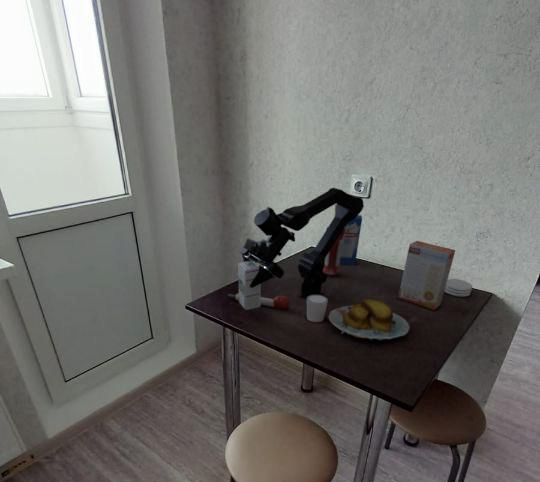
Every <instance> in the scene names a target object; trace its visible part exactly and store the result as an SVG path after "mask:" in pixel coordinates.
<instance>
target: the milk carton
mask: <svg viewBox="0 0 540 482" xmlns="http://www.w3.org/2000/svg"><path fill="white" fill-rule="evenodd" d="M362 222H363V216H362V215H361V214H359V215H358V216H357V217H356V218H355V219H353V220H352V221H350V222H348V223H347V225H346V226H345V235H344V241H343V246H342V251H341V257H340V263H339V265H349V266H355V265H356V261H357V254H358V248H359V241H360V237H361V229H362V224H363V223H362Z"/></svg>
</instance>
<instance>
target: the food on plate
mask: <svg viewBox="0 0 540 482" xmlns="http://www.w3.org/2000/svg"><path fill="white" fill-rule="evenodd" d="M327 321H329V322H330V324H332V326H334V327H335V328H336V329H338V330H339V331H341V335H343V334H344V333H346V334H347V335H350V336H353V337H354V338H358V339H359V338H361V339H368V340H369V341H370V340H371V341H373V340H374V339H375V340H378V341H384V340H392V339H394V338H395V339H396V338H399V337H404V336H406V335H408V334H409V332H410V331H411V326H410V323H409V321H407V319H405V318H404V317H402V316H400V315H398V314H396V313H394V312H393V310H392V308H391V307H390V306H389V305H388V304H387V303H385V302H383V301H381V300H380V299H379V300H378V299H374V298H364V299H363V300H362V302H359V303H356V304H352V305H351V304H350V305H346V306H342V307H338V308H335V309H332V310H331V311H329V314H328V315H327Z"/></svg>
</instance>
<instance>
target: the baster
mask: <svg viewBox="0 0 540 482" xmlns="http://www.w3.org/2000/svg"><path fill="white" fill-rule="evenodd" d="M228 298H232V299H235V301H238V302H239V292H237V293H236V294H233V293H229V294H228ZM290 304H291V301H290V299H289V298H288V297H287V296H282V295H277V296H275V297H274V298H268V297H262V296H261V303H260V306H266V307H271V308H277V309H281V310H287V309H288V308H289V307H290Z"/></svg>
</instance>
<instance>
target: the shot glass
mask: <svg viewBox="0 0 540 482" xmlns="http://www.w3.org/2000/svg"><path fill="white" fill-rule="evenodd" d="M328 301H329V299H328V298H327V297H326V296H324V295H322V294H321V295H310V296H308V297H307V298H306V319H307V320H308V321H310V322H313V323H321V322H324V319H325V315H326V310H327V306H328Z"/></svg>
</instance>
